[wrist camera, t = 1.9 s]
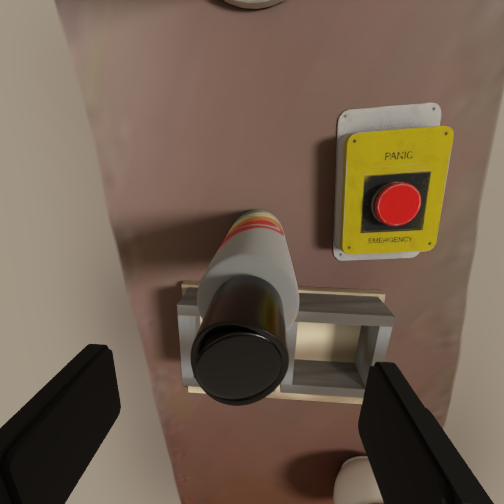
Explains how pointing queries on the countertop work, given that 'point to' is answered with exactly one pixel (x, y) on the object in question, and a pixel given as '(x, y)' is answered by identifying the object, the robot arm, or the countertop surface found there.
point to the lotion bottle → (246, 313)
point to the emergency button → (389, 181)
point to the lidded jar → (356, 483)
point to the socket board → (314, 342)
